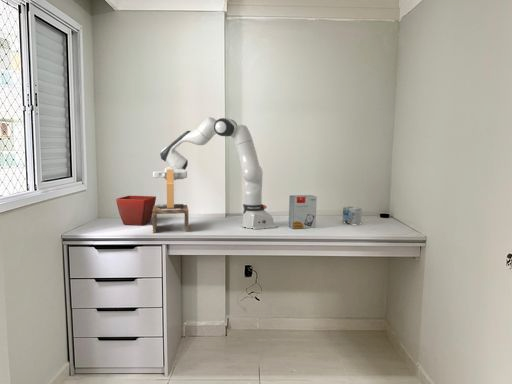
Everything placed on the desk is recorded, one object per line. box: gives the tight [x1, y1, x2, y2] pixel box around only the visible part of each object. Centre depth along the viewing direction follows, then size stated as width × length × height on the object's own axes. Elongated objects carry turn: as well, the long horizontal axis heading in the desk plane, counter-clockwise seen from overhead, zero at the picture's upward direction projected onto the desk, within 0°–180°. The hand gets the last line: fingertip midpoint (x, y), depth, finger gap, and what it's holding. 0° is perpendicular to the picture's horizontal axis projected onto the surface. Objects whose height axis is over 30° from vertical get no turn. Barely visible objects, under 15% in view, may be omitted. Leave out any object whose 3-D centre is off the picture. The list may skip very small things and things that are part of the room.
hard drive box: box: [288, 194, 318, 230], centre depth 232 cm, size 16×8×20 cm, turn 105°
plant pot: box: [115, 195, 157, 226], centre depth 239 cm, size 19×19×17 cm
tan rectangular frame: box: [152, 203, 190, 234], centre depth 223 cm, size 20×20×15 cm
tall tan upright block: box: [166, 169, 175, 208], centre depth 221 cm, size 4×12×22 cm, turn 13°
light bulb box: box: [341, 205, 363, 225], centre depth 246 cm, size 11×7×11 cm, turn 37°
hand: (170, 175), depth 219 cm, fingers closed on tall tan upright block, 4 cm apart
